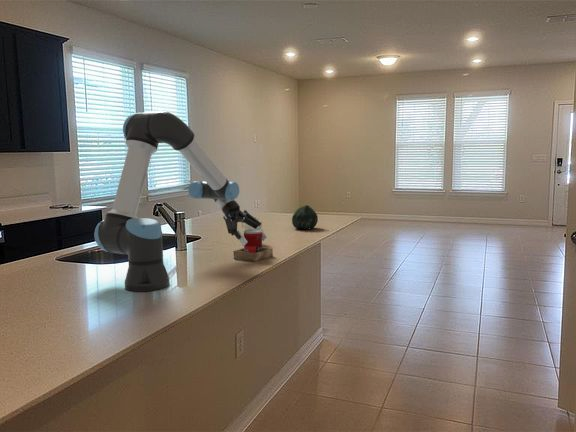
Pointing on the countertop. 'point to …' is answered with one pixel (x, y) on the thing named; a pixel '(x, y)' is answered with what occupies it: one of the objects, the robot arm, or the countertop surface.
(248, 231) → the canned food
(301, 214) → the squash
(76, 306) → the countertop surface
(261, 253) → the crate
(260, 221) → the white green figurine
